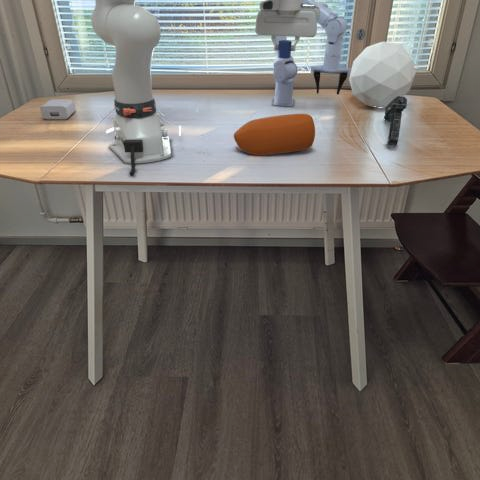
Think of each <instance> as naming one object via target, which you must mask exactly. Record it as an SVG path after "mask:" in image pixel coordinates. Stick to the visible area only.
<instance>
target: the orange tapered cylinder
mask: <svg viewBox="0 0 480 480" xmlns="http://www.w3.org/2000/svg"><path fill="white" fill-rule="evenodd" d="M315 138H316V125H315V121H314V118H313V116H311V114H308V113H290V114H289V113H288V114H280V115H273V116H266V117H260V118H255V119H252V120H250V121H247V122H246V123H245V124H243V125H241V127H239V128H238V129H237V130H236V131H235V132H234V133H233V139H234V142H235V143H236V145H237V146H238V148H239V149H240V150H241V151H243V152H245V153H247V154H249V155H253V156H264V155H266V156H267V155H276V154H277V155H278V154H285V153H293V152H299V151H303V150H304V151H305V150H308V149H310V148H312V147H313V145H314V141H315Z"/></svg>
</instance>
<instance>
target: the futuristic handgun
mask: <svg viewBox="0 0 480 480" xmlns="http://www.w3.org/2000/svg"><path fill="white" fill-rule="evenodd" d="M407 105H408V99H407V97H406V96H397V97H396V98H394V99H393V100H392V101H391V102H390V103H389V104H388V105H387V106H386V107H385V110H384V115H383V121H385V122H389V124H390V125H389V132H388V137H387V141H386V142H387V143H386V146H395V147H396V146H398V142H399V137H400V129H401V124H402V116H403V112H404V110H406V109H407ZM384 119H385V120H384ZM386 120H388V121H386Z"/></svg>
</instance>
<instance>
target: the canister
mask: <svg viewBox="0 0 480 480" xmlns="http://www.w3.org/2000/svg"><path fill="white" fill-rule="evenodd" d="M291 45H292V40H281V41H279V48H278V58H284V59H286V58H290V57H291V56H292V51H291Z"/></svg>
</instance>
